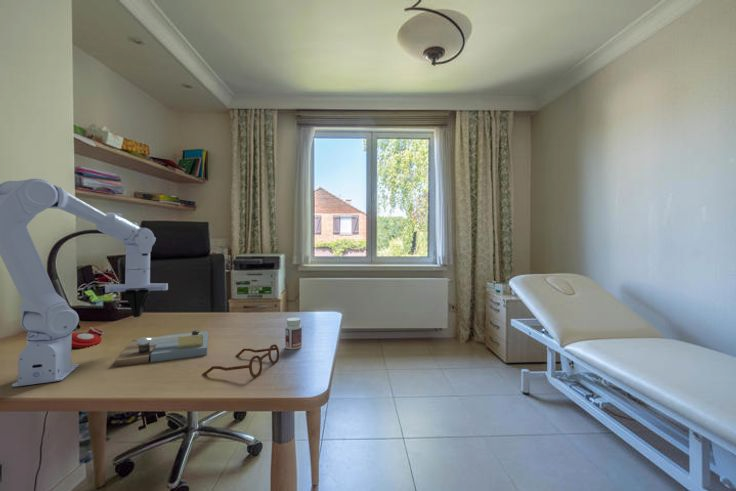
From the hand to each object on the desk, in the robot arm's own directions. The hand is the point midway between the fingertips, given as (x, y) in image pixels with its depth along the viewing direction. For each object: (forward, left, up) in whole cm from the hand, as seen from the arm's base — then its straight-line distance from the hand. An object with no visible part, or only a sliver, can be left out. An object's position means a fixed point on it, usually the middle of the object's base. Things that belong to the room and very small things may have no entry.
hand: (137, 316), depth 89 cm
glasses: (-27, -27, -10) cm, 39 cm away
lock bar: (-9, -9, -6) cm, 14 cm away
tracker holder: (+12, +15, -10) cm, 22 cm away
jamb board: (-5, -2, -9) cm, 11 cm away
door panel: (-5, -12, -9) cm, 16 cm away
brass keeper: (-9, -14, -7) cm, 18 cm away
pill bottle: (-17, -41, -10) cm, 46 cm away
